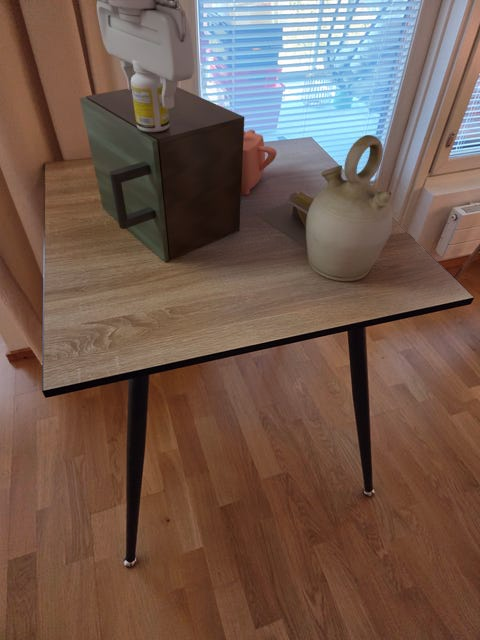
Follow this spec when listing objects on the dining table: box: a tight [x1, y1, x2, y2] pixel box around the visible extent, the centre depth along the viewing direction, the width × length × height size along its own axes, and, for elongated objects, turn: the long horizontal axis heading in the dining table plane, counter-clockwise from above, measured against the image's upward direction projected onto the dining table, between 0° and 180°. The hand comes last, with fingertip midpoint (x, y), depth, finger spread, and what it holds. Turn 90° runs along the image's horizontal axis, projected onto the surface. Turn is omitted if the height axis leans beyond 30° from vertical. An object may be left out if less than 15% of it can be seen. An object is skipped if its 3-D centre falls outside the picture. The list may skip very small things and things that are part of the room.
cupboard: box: [85, 86, 245, 261], centre depth 85 cm, size 18×26×24 cm
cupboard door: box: [79, 96, 170, 263], centre depth 79 cm, size 8×26×23 cm, turn 40°
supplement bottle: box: [131, 60, 169, 132], centre depth 66 cm, size 5×5×10 cm
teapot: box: [241, 129, 277, 196], centre depth 102 cm, size 17×16×13 cm
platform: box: [256, 190, 315, 251], centre depth 92 cm, size 12×18×7 cm, turn 37°
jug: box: [306, 134, 393, 282], centre depth 75 cm, size 15×16×25 cm
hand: (150, 99), depth 66 cm, fingers open, 8 cm apart
